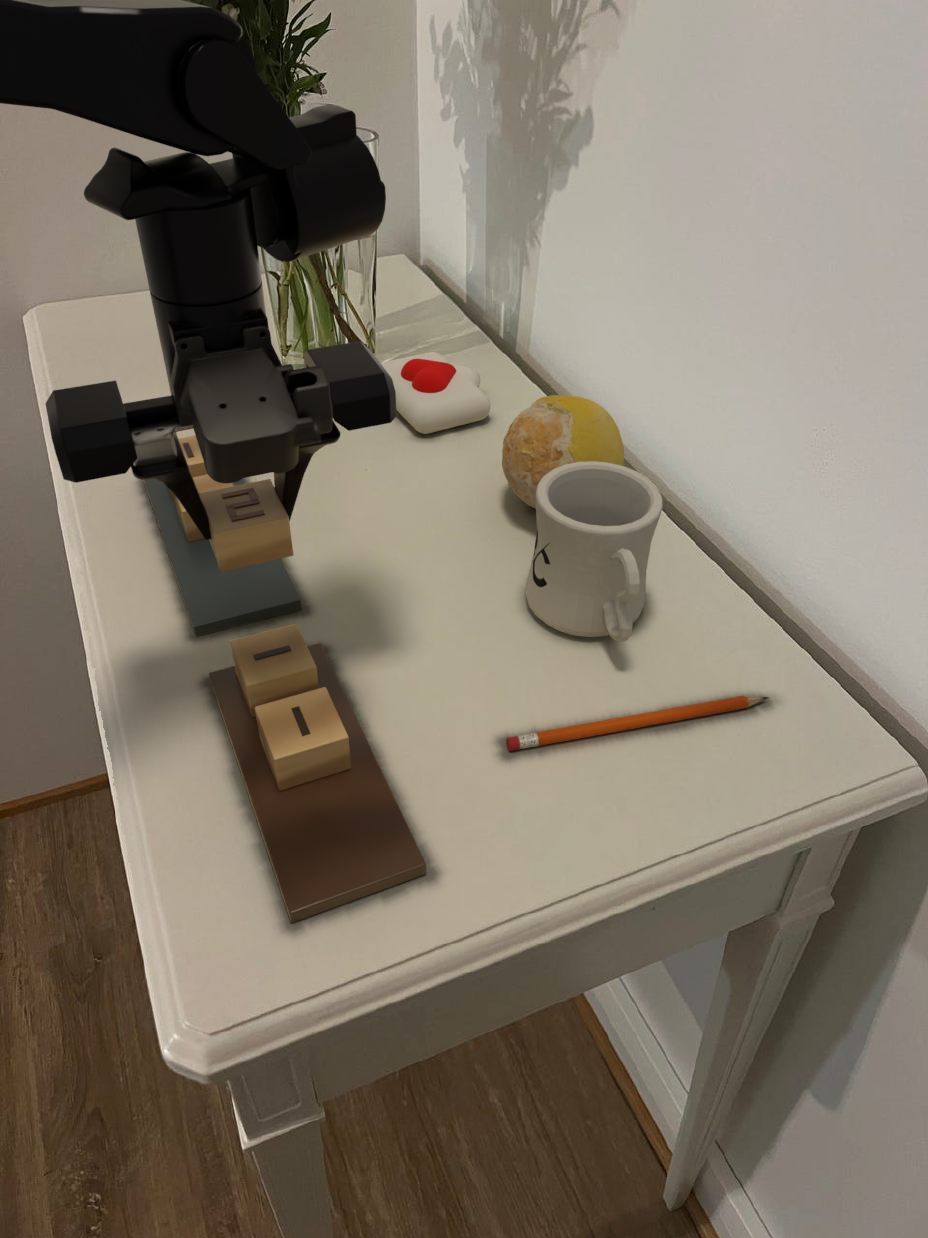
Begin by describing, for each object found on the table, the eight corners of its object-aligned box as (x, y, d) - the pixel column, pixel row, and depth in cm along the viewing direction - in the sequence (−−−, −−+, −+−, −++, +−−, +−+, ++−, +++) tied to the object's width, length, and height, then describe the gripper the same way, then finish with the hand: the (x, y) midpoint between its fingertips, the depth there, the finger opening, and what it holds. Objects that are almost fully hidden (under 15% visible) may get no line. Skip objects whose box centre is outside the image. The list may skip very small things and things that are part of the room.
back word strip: (302, 609, 71) (297, 567, 68) (195, 637, 68) (186, 594, 65) (233, 463, 86) (226, 424, 83) (143, 481, 83) (134, 441, 80)
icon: (511, 378, 90) (418, 400, 86) (509, 418, 93) (418, 441, 89) (452, 329, 98) (365, 347, 94) (452, 367, 101) (366, 386, 97)
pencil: (505, 743, 61) (506, 734, 61) (765, 697, 65) (768, 688, 65) (509, 753, 61) (510, 745, 60) (771, 706, 65) (774, 697, 64)
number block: (293, 556, 59) (288, 516, 57) (220, 572, 57) (213, 532, 55) (275, 516, 62) (270, 477, 60) (205, 531, 61) (198, 491, 59)
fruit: (554, 462, 87) (564, 362, 81) (641, 515, 81) (660, 412, 74) (471, 500, 82) (475, 397, 75) (557, 560, 76) (570, 453, 69)
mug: (510, 574, 75) (518, 466, 68) (617, 559, 76) (635, 453, 70) (560, 682, 66) (575, 571, 59) (679, 662, 67) (707, 552, 61)
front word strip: (426, 874, 54) (426, 832, 51) (291, 923, 51) (283, 881, 48) (321, 652, 67) (317, 609, 65) (210, 682, 65) (201, 639, 62)
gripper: (25, 383, 40) (109, 647, 51) (430, 320, 46) (430, 568, 56) (10, 286, 48) (86, 532, 58) (359, 241, 53) (371, 473, 64)
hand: (246, 527), depth 59 cm, fingers closed on number block, 4 cm apart
